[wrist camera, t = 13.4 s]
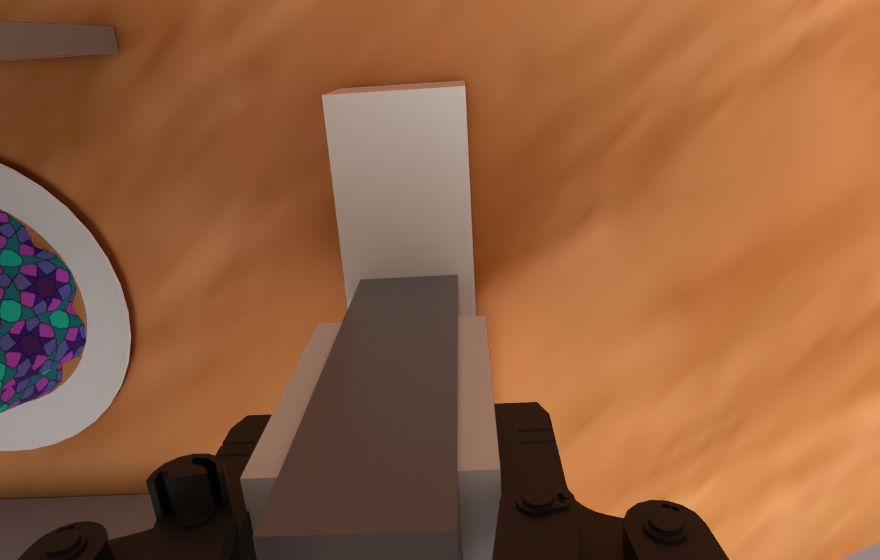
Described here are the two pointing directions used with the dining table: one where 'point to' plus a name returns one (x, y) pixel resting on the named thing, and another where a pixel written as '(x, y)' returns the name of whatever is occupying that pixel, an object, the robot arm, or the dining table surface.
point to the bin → (28, 519)
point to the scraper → (386, 339)
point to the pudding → (54, 320)
